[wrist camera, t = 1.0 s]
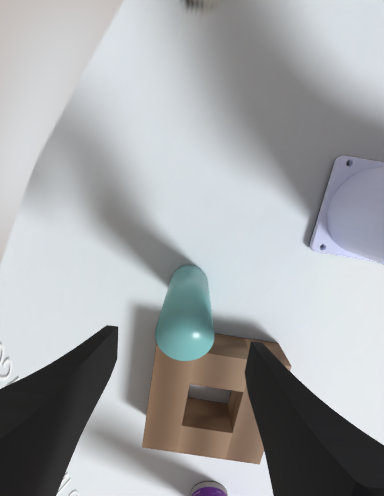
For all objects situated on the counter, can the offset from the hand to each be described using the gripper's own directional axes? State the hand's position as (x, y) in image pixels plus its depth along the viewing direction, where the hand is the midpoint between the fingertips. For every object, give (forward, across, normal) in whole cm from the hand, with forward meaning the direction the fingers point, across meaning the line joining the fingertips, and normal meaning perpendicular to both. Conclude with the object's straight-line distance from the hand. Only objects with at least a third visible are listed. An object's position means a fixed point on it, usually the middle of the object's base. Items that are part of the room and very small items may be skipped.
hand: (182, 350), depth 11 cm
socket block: (+9, -4, +11) cm, 15 cm away
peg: (+9, 0, 0) cm, 9 cm away
